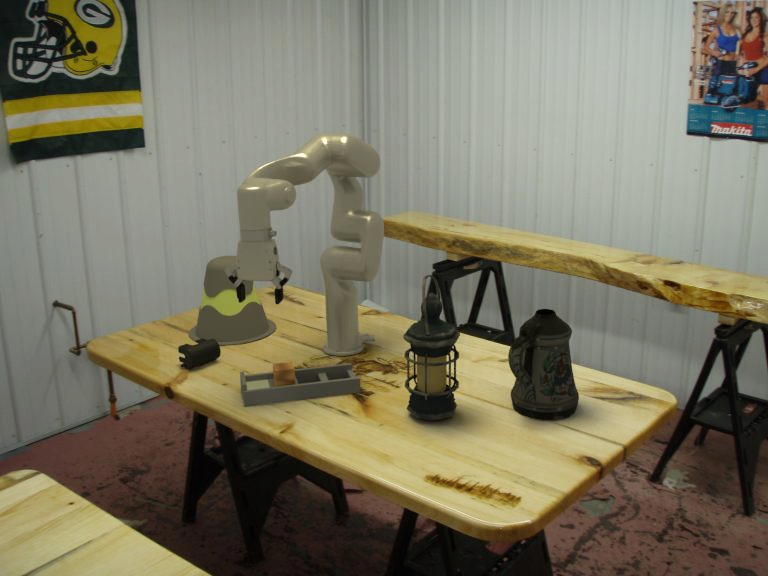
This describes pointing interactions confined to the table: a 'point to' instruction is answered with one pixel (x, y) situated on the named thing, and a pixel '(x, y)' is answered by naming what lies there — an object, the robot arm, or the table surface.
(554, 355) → the beer stein
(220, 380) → the table surface
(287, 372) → the orange block
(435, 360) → the lantern
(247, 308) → the grey bell cover
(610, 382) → the table surface
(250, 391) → the tray
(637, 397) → the table surface
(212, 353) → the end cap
